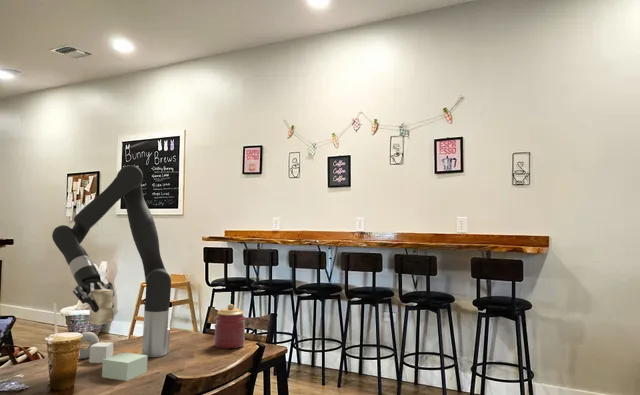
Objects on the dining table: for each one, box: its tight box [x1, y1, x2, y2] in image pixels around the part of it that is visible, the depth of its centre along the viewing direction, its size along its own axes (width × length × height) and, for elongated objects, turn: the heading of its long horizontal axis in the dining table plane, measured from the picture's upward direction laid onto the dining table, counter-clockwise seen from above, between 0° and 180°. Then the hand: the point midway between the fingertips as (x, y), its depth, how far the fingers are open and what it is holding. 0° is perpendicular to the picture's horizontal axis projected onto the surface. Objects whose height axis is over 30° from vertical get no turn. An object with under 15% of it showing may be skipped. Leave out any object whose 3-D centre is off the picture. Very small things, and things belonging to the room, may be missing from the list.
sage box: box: [101, 351, 149, 382], centre depth 163 cm, size 10×10×6 cm
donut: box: [78, 331, 100, 360], centre depth 180 cm, size 10×4×10 cm, turn 138°
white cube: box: [88, 341, 114, 364], centre depth 178 cm, size 6×6×6 cm
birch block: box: [88, 289, 114, 326], centre depth 164 cm, size 5×5×11 cm
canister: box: [213, 303, 247, 349], centre depth 206 cm, size 13×13×18 cm
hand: (104, 309), depth 163 cm, fingers closed on birch block, 5 cm apart
